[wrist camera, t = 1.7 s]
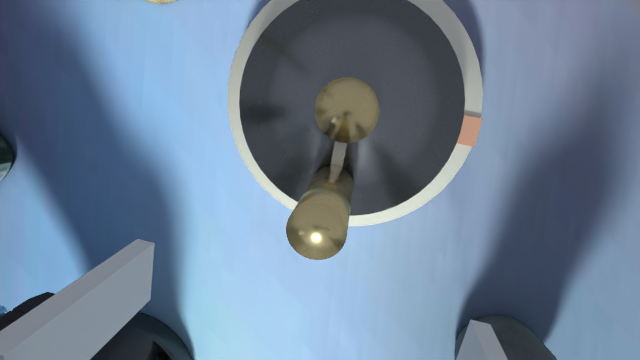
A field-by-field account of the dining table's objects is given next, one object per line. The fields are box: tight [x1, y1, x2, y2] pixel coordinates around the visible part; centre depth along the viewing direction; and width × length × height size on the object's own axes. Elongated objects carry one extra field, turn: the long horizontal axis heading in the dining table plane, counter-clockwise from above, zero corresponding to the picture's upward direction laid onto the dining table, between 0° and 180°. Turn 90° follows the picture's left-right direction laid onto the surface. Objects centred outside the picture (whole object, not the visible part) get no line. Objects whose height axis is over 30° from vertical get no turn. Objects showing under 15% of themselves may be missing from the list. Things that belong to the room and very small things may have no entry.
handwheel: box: [239, 0, 465, 260], centre depth 26 cm, size 18×18×12 cm
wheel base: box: [227, 0, 483, 226], centre depth 33 cm, size 22×22×4 cm
